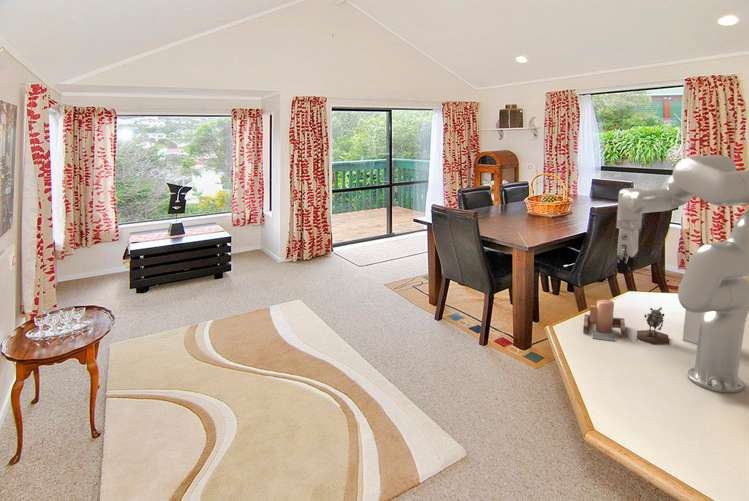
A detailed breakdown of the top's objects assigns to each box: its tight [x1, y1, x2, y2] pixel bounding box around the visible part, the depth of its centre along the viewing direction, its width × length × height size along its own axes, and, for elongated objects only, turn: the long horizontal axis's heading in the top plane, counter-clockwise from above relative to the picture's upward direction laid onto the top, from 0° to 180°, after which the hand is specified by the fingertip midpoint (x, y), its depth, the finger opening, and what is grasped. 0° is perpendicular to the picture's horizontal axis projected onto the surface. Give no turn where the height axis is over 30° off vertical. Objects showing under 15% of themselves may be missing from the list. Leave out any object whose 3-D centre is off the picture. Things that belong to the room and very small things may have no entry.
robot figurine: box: [636, 306, 670, 345], centre depth 149 cm, size 11×9×12 cm
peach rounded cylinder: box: [589, 299, 615, 334], centre depth 158 cm, size 6×8×11 cm
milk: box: [682, 309, 703, 345], centre depth 144 cm, size 6×6×22 cm
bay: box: [582, 314, 627, 339], centre depth 159 cm, size 12×13×3 cm
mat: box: [592, 332, 616, 342], centre depth 153 cm, size 5×7×1 cm
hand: (625, 270), depth 154 cm, fingers open, 9 cm apart
